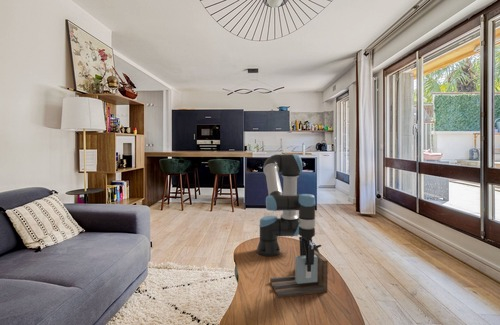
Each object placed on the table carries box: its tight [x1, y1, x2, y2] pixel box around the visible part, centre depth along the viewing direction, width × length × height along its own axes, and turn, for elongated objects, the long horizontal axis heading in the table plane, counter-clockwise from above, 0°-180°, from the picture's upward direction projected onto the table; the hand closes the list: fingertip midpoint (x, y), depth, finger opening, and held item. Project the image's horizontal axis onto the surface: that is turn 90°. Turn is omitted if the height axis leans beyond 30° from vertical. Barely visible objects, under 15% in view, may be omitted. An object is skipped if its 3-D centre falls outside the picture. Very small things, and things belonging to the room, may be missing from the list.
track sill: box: [269, 250, 329, 298], centre depth 129 cm, size 14×24×15 cm, turn 101°
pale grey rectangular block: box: [294, 255, 318, 284], centre depth 126 cm, size 3×10×12 cm, turn 101°
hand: (306, 275), depth 127 cm, fingers closed on pale grey rectangular block, 3 cm apart
